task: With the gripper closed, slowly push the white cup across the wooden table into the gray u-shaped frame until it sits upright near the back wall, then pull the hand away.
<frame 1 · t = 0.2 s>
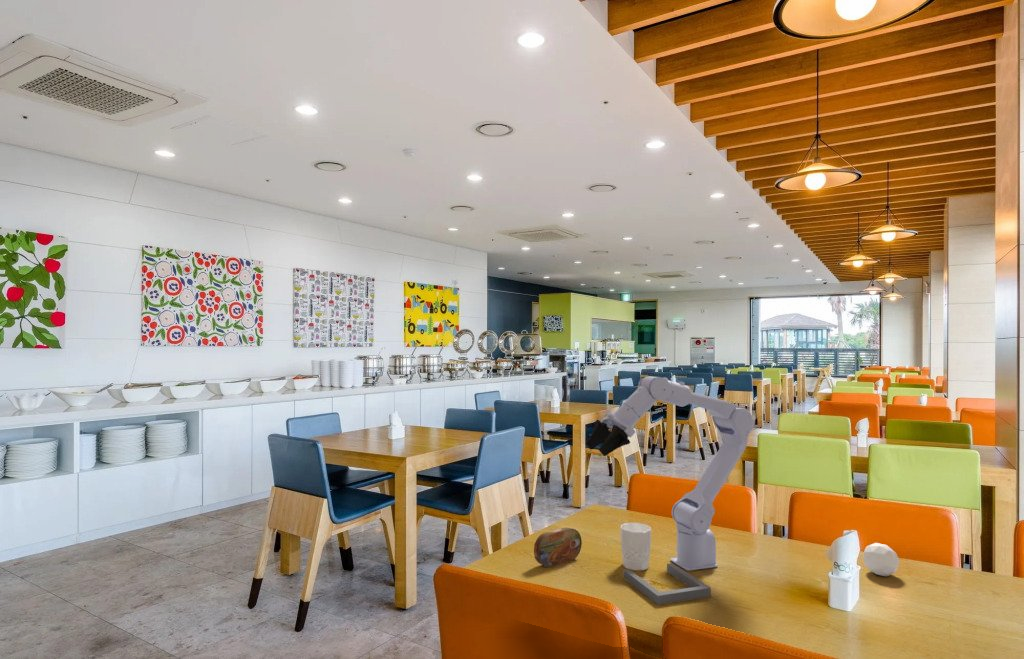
hand: (594, 450, 144), 31 cm above the table, tool tilted 45°, fingers open, 7 cm apart
white cup: (635, 566, 150), on the table
tin: (557, 563, 152), on the table
gray u-shaped frame: (668, 588, 136), on the table
geometric ball: (880, 575, 145), on the table
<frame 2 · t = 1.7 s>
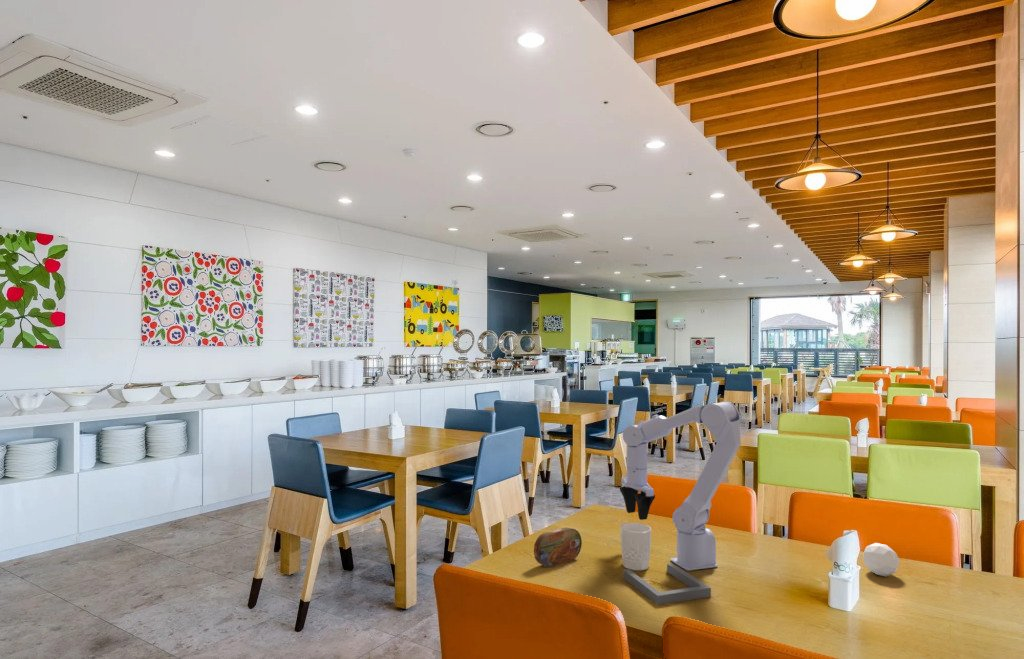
hand: (636, 515, 162), 9 cm above the table, tool pointing down, fingers open, 6 cm apart
nothing on the table moved.
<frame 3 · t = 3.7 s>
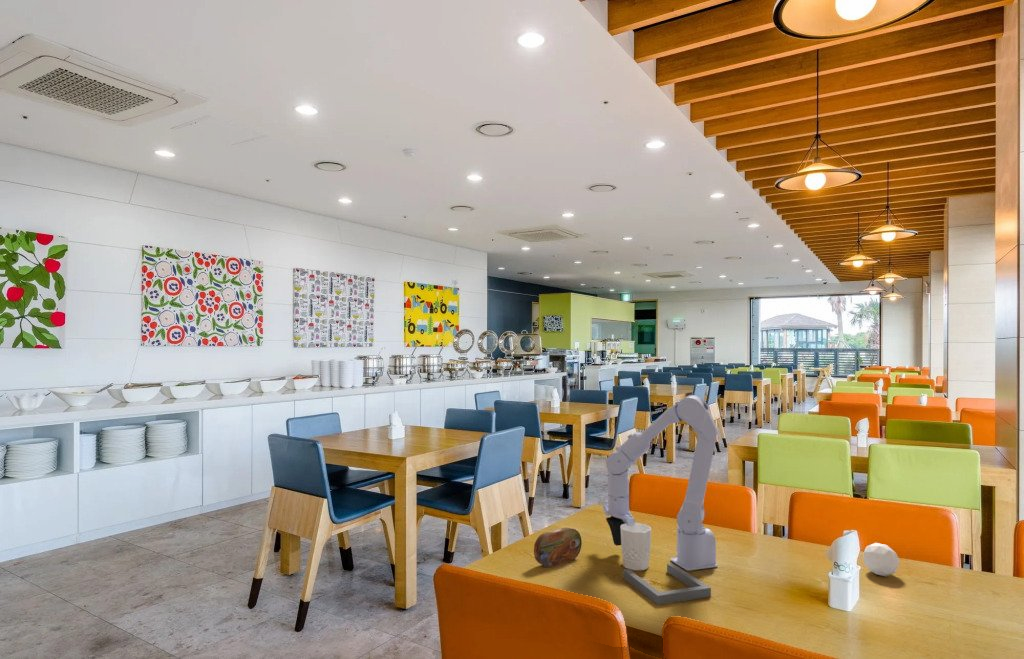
hand: (618, 544, 159), 2 cm above the table, tool pointing down, fingers closed
nothing on the table moved.
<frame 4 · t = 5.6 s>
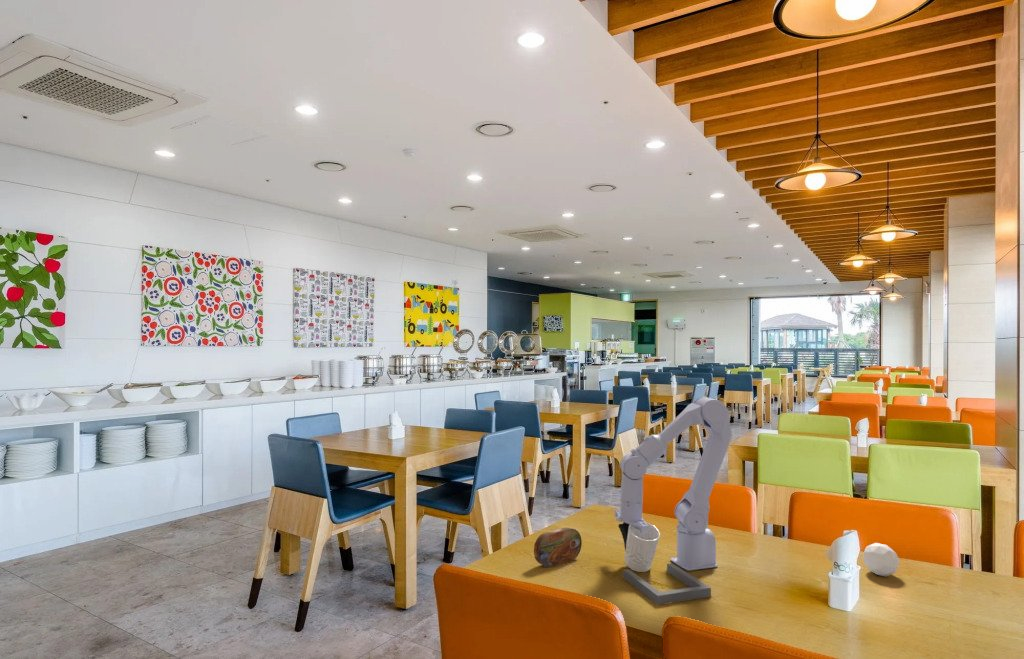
hand: (629, 552, 151), 3 cm above the table, tool pointing down, fingers closed, pressing on white cup
white cup: (637, 564, 149), point 1 cm above the table, touching gripper
everything else where it was.
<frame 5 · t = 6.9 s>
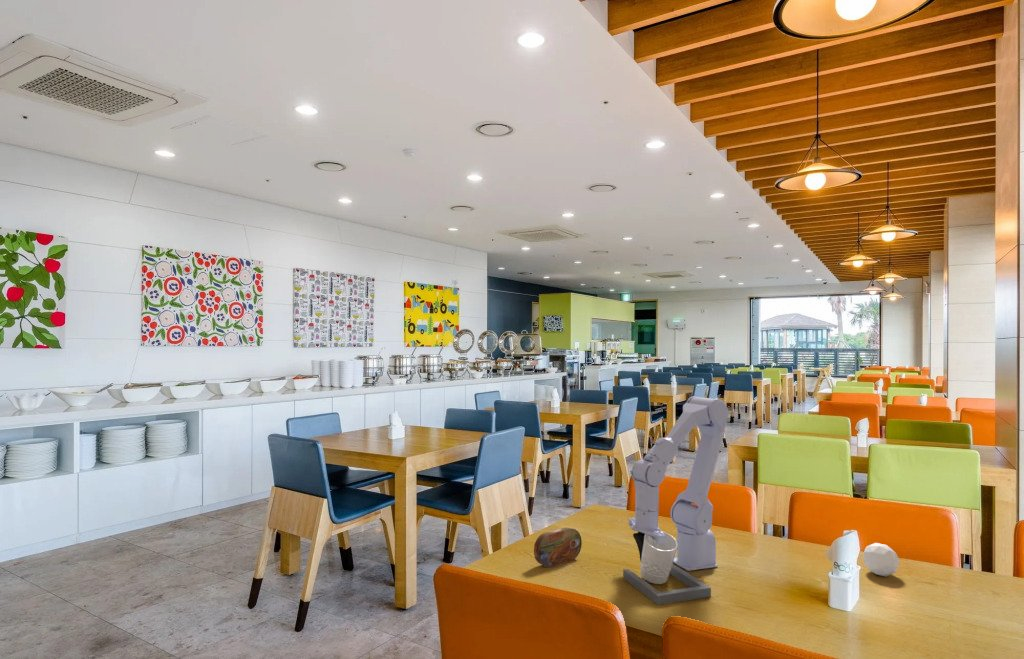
hand: (645, 563, 144), 3 cm above the table, tool pointing down, fingers closed, pressing on white cup
white cup: (653, 575, 141), point 1 cm above the table, touching gripper
everything else where it was.
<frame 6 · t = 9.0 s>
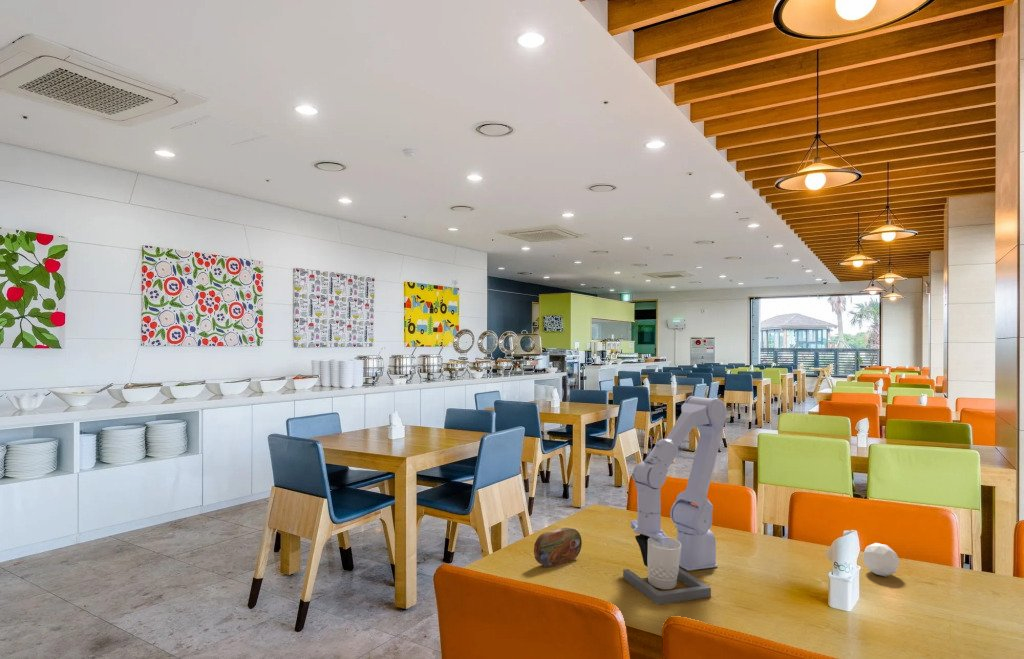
hand: (649, 565, 144), 2 cm above the table, tool pointing down, fingers closed
white cup: (661, 583, 138), on the table, touching gripper
everything else where it was.
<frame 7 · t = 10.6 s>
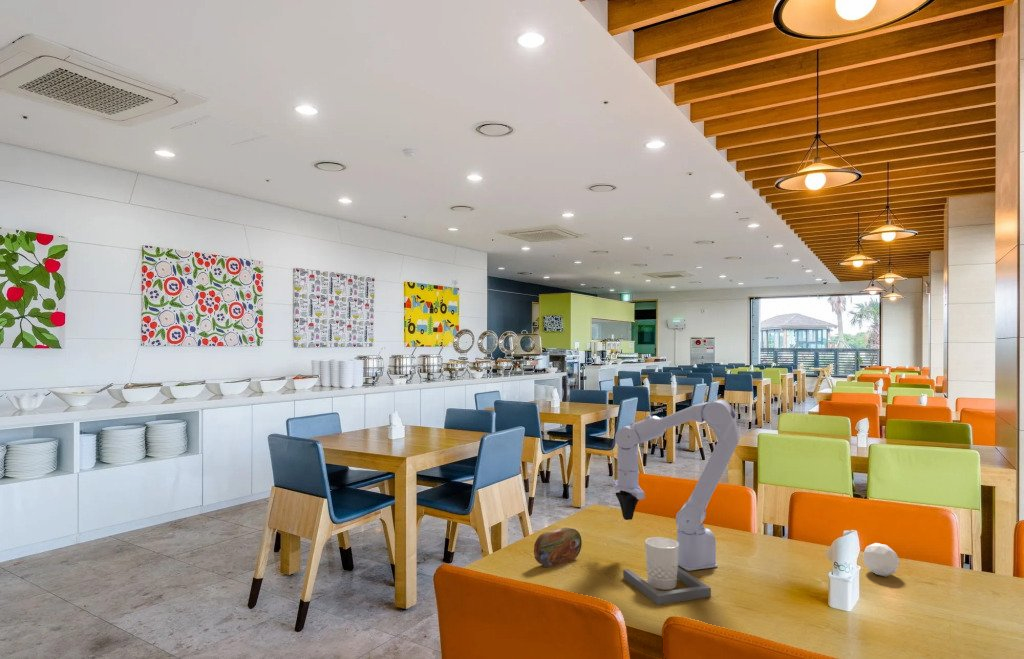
hand: (627, 519, 159), 9 cm above the table, tool pointing down, fingers closed
white cup: (661, 585, 138), on the table
everything else where it was.
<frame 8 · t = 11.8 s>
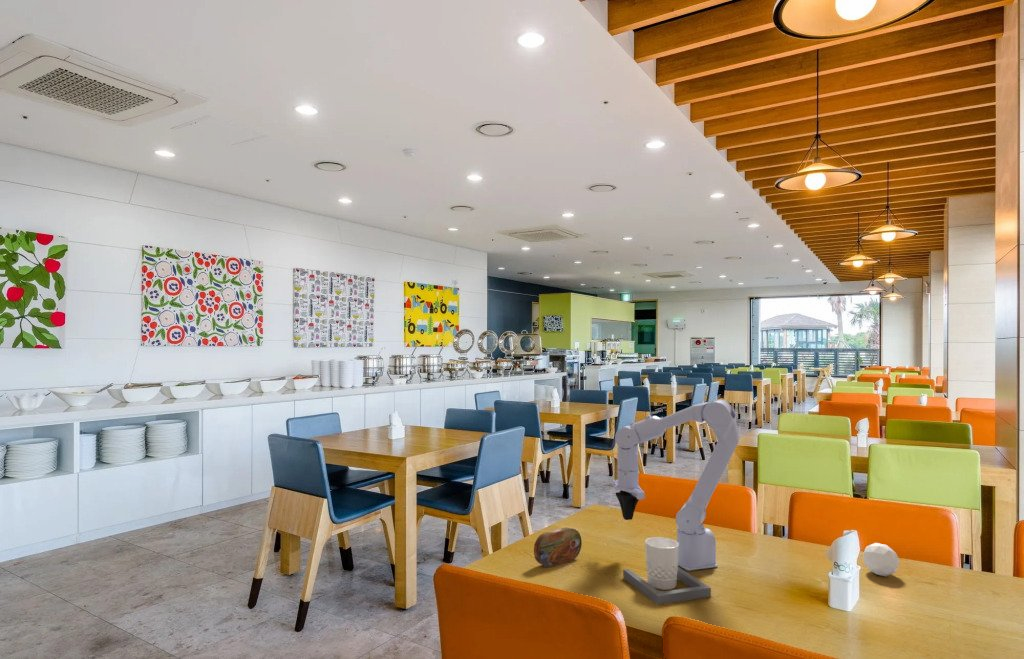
hand: (627, 519, 159), 9 cm above the table, tool pointing down, fingers closed
nothing on the table moved.
at the end: white cup 3.7 cm off-centre on the gray u-shaped frame, point 0.0 cm above the gray u-shaped frame's base; white cup tilted 0°; white cup moved 12.1 cm from its start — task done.
